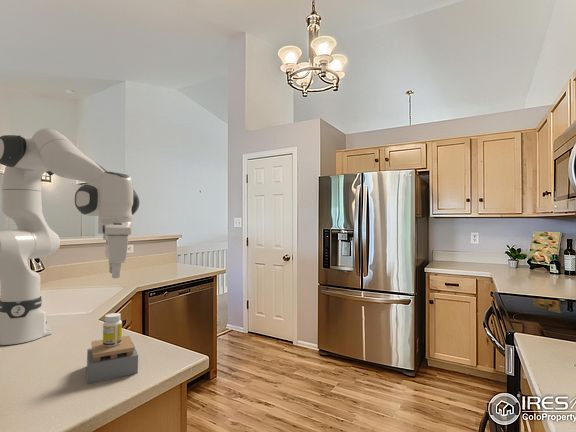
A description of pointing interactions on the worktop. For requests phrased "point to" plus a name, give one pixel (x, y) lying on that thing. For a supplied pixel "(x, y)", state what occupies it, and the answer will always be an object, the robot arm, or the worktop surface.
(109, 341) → the supplement bottle
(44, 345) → the worktop surface
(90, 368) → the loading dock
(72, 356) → the worktop surface
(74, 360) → the worktop surface
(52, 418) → the worktop surface
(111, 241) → the robot arm
